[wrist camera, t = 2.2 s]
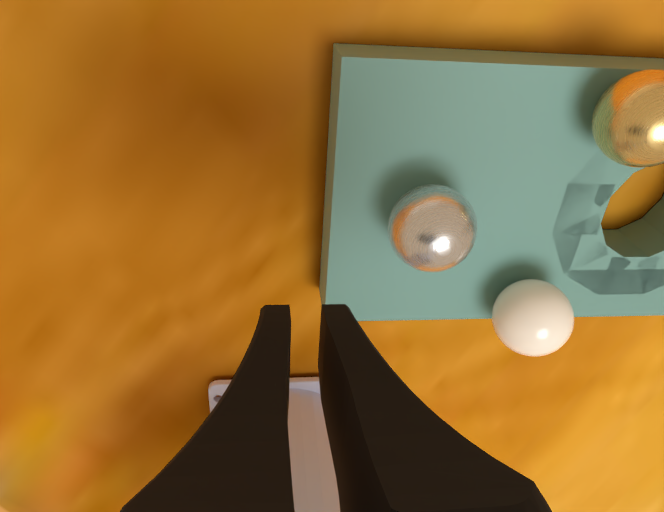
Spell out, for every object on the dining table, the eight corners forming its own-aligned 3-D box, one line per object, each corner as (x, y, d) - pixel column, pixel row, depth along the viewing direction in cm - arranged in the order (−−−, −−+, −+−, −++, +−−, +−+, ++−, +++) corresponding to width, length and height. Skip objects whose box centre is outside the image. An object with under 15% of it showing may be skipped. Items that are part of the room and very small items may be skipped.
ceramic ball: (541, 322, 24) (575, 371, 21) (474, 323, 24) (501, 373, 21) (560, 264, 23) (600, 309, 20) (490, 264, 22) (520, 310, 19)
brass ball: (652, 152, 20) (697, 186, 17) (567, 145, 20) (598, 178, 17) (687, 64, 18) (743, 86, 15) (594, 57, 18) (633, 77, 16)
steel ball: (453, 244, 21) (479, 289, 19) (376, 244, 21) (392, 290, 18) (468, 171, 20) (500, 209, 17) (385, 169, 19) (404, 208, 17)
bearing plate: (319, 288, 25) (324, 321, 23) (333, 43, 19) (341, 56, 17) (682, 284, 27) (717, 314, 25) (791, 64, 22) (848, 78, 19)
